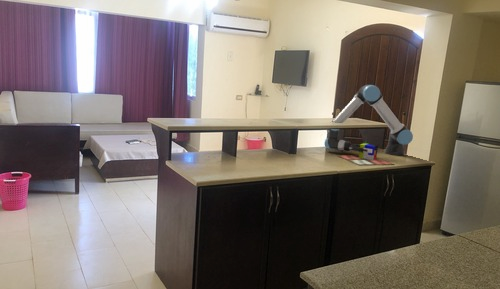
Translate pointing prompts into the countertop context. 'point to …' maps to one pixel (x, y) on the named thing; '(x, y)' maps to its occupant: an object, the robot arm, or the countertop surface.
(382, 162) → the board
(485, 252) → the countertop surface
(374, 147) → the puzzle toy
